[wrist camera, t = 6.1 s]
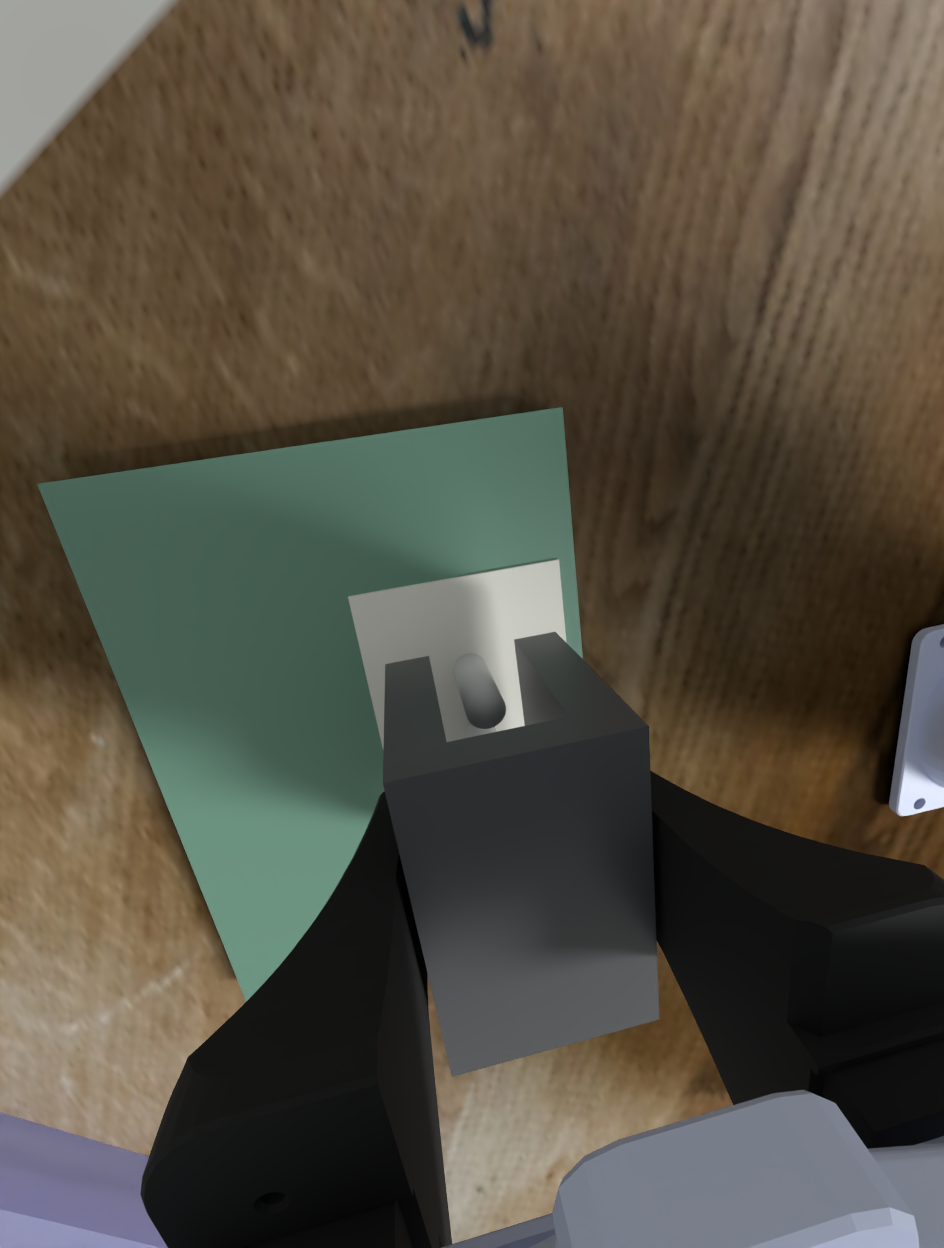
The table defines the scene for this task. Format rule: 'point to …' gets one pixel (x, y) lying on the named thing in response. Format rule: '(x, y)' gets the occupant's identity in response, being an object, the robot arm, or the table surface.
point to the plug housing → (527, 858)
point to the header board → (314, 633)
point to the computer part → (69, 1191)
